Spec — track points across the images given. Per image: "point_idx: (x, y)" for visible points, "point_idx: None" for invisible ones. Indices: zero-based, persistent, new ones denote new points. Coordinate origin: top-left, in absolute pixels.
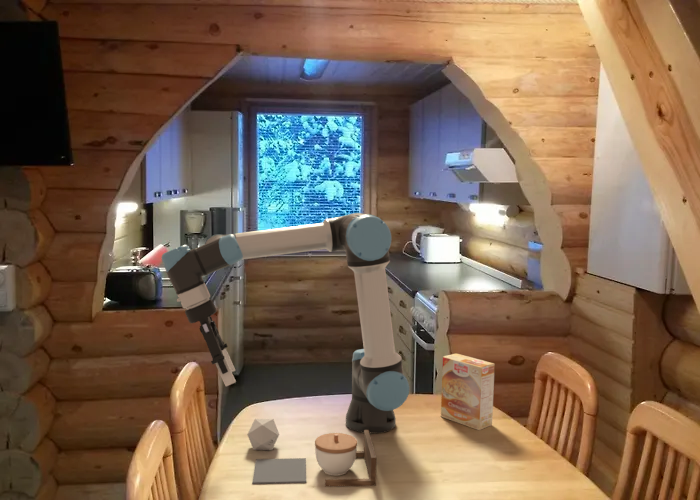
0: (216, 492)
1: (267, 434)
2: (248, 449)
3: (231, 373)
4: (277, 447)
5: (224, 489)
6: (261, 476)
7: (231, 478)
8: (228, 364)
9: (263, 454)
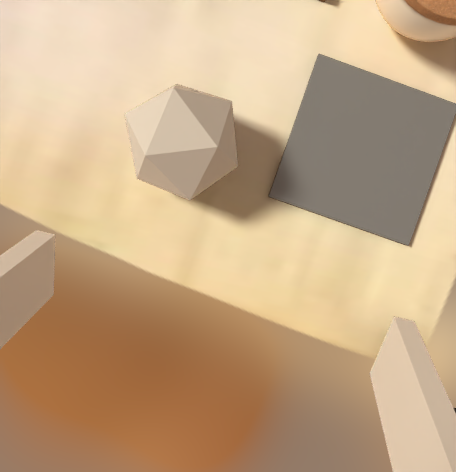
0: None
1: (229, 136)
2: None
3: (431, 368)
4: None
5: None
6: (385, 212)
7: (353, 290)
8: (19, 288)
9: None
